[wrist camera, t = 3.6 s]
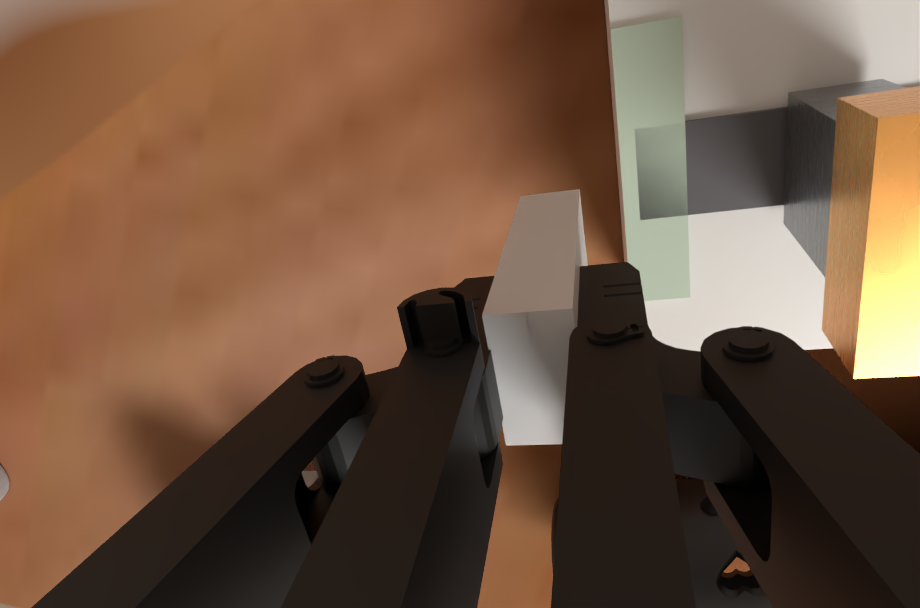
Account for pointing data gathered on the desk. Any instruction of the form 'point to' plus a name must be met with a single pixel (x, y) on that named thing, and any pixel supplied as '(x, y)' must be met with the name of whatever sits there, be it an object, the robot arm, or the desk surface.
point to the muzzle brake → (708, 553)
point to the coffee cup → (3, 482)
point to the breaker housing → (731, 148)
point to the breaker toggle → (860, 217)
